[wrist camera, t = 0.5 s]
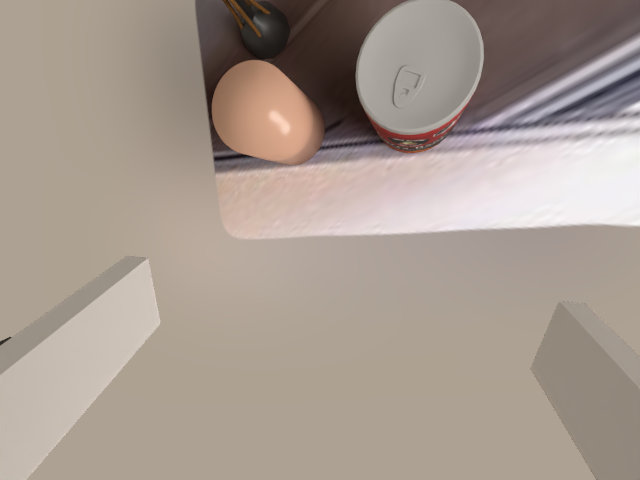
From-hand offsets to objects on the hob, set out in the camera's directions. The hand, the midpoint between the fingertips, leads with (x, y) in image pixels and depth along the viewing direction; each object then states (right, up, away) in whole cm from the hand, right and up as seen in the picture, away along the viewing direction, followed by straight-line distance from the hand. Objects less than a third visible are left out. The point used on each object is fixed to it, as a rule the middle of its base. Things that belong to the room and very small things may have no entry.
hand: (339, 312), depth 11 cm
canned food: (+8, +14, +20) cm, 26 cm away
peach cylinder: (-3, +14, +23) cm, 27 cm away
